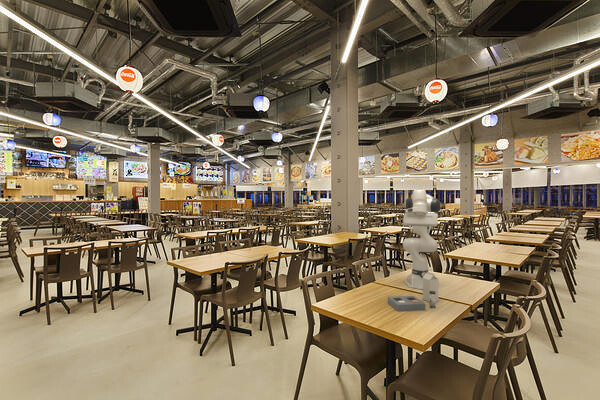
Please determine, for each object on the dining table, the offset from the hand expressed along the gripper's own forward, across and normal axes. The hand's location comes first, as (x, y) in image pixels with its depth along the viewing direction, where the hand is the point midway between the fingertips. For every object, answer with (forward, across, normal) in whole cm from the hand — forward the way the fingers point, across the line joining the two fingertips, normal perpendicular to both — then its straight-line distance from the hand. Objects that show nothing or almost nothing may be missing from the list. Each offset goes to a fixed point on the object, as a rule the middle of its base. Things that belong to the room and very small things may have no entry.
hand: (420, 232), depth 179 cm
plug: (+40, -8, -29) cm, 50 cm away
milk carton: (+35, -9, -42) cm, 55 cm away
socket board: (+42, +8, -26) cm, 50 cm away
